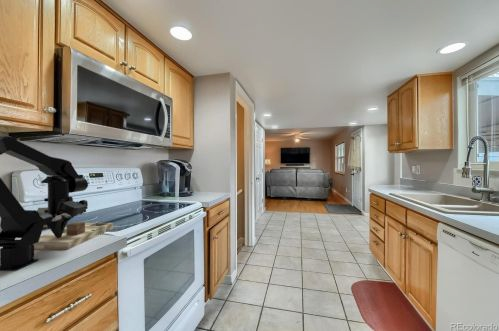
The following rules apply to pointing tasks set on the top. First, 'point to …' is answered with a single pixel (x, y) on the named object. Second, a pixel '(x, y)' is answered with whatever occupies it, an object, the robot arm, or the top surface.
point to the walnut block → (76, 228)
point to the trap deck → (72, 237)
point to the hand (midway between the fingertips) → (58, 237)
